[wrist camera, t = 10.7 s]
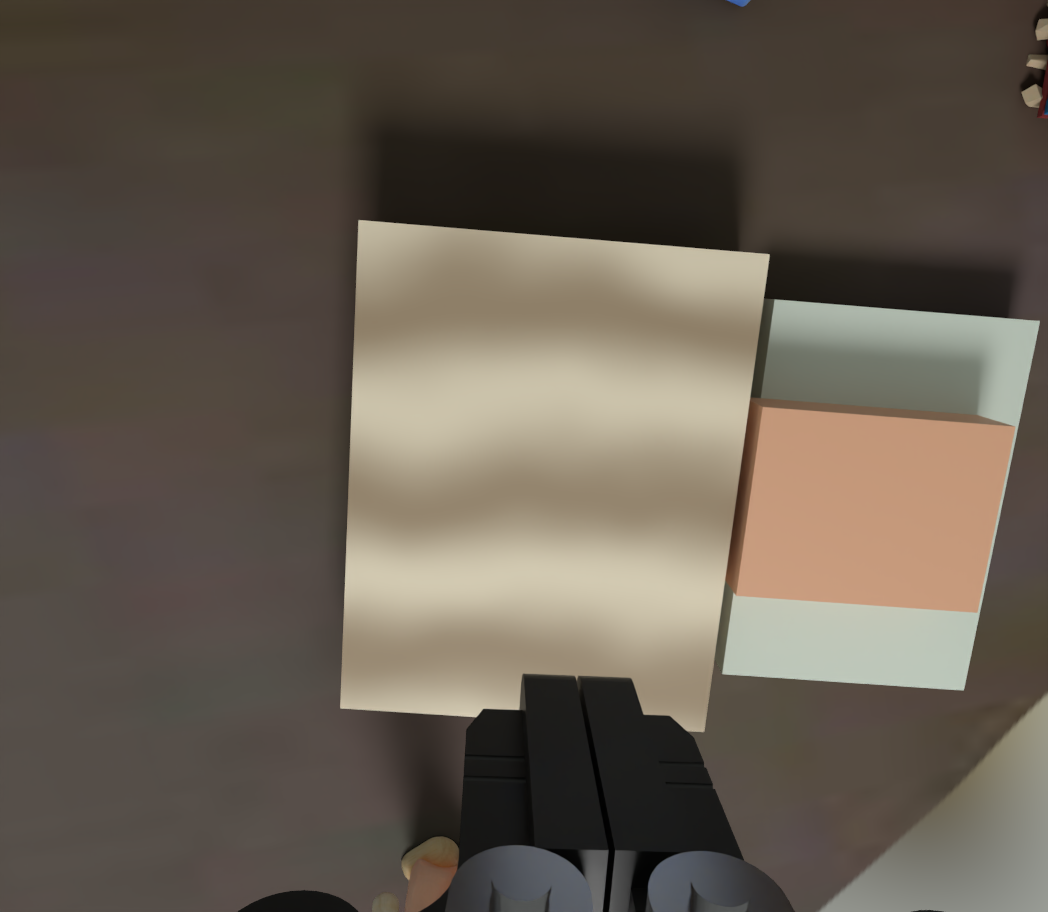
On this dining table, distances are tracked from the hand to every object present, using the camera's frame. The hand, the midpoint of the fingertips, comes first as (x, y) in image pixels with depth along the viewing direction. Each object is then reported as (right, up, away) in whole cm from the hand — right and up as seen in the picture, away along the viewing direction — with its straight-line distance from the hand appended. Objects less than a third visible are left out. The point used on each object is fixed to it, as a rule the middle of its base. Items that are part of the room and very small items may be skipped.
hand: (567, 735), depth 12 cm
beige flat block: (0, +3, +23) cm, 23 cm away
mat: (+13, +2, +23) cm, 27 cm away
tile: (+12, +2, +21) cm, 24 cm away
